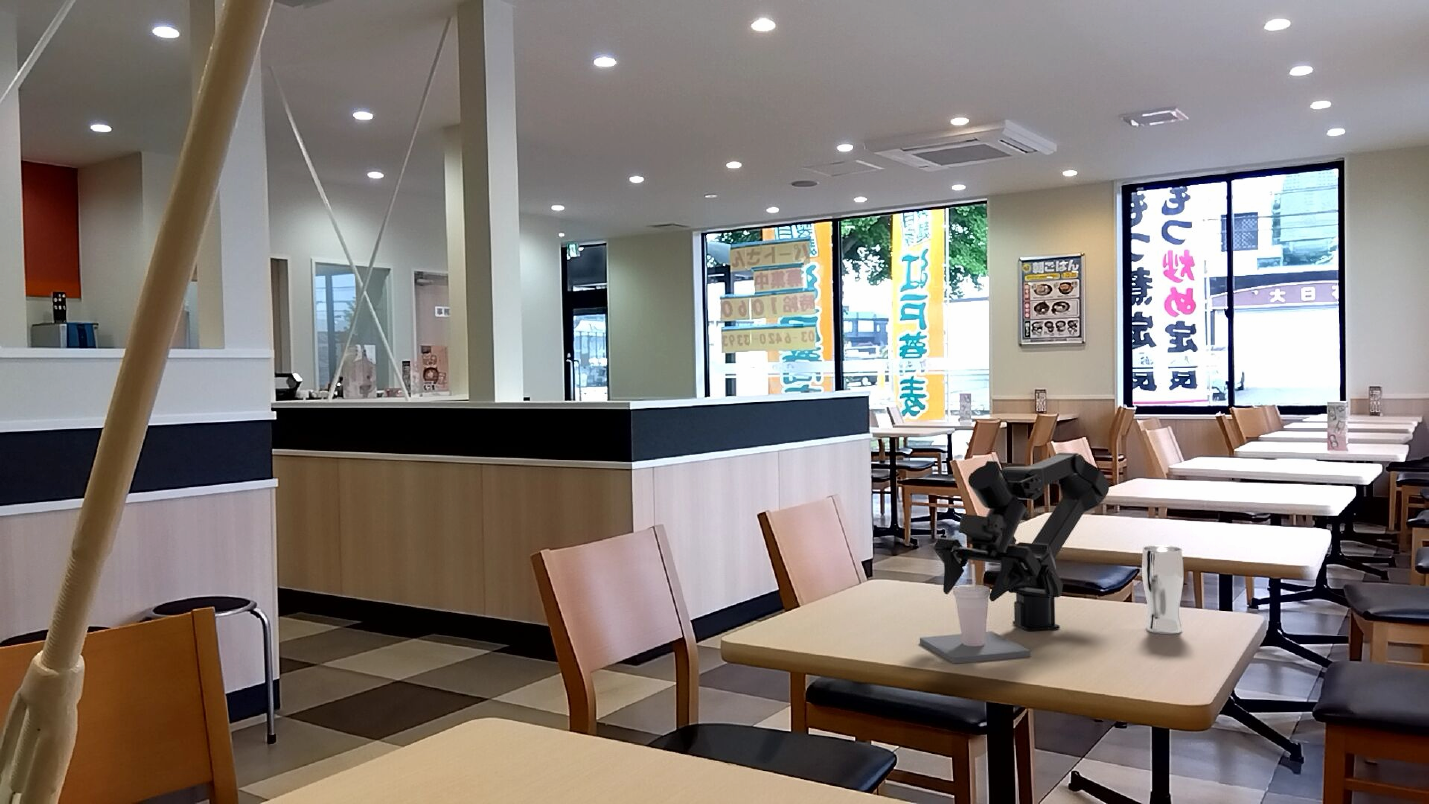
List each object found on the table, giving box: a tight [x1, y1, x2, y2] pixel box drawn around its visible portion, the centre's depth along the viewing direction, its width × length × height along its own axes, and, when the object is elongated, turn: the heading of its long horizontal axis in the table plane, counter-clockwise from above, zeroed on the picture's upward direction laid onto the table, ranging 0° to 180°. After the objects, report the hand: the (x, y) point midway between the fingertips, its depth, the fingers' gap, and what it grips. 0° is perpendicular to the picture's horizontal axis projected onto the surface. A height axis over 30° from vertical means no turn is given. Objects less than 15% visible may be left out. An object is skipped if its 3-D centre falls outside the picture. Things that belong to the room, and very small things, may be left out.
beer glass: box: [1141, 545, 1184, 635], centre depth 191 cm, size 7×7×15 cm
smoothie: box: [952, 563, 991, 646], centre depth 182 cm, size 6×6×14 cm
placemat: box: [919, 630, 1031, 665], centre depth 183 cm, size 14×14×1 cm
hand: (967, 596), depth 181 cm, fingers open, 9 cm apart
